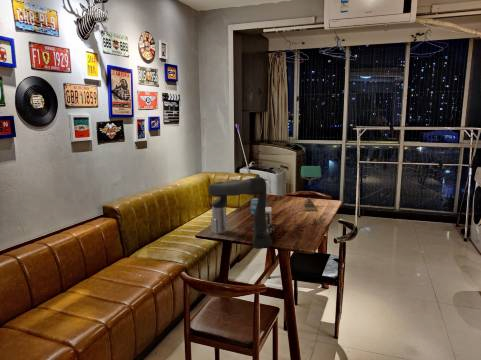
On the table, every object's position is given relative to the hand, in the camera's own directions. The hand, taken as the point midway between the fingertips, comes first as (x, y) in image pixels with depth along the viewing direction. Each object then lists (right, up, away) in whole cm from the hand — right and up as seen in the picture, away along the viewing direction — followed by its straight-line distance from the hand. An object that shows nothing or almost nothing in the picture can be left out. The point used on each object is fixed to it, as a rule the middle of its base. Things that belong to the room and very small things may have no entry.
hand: (263, 224), depth 230 cm
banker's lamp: (+42, +5, +63) cm, 76 cm away
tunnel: (+1, -5, +9) cm, 10 cm away
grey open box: (+1, -3, +19) cm, 19 cm away
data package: (0, +2, +48) cm, 48 cm away
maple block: (0, -6, +4) cm, 7 cm away
